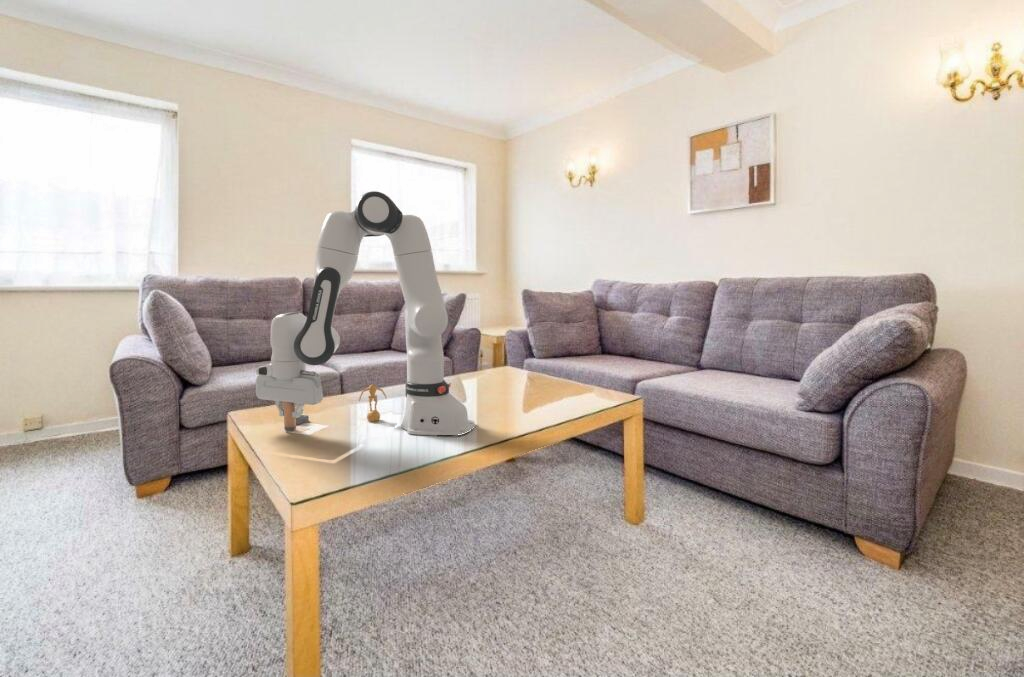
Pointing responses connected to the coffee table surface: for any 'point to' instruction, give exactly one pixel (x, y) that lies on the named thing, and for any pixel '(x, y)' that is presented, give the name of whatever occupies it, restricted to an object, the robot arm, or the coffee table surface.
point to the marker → (289, 416)
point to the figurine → (373, 414)
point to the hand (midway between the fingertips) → (289, 416)
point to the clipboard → (306, 426)
